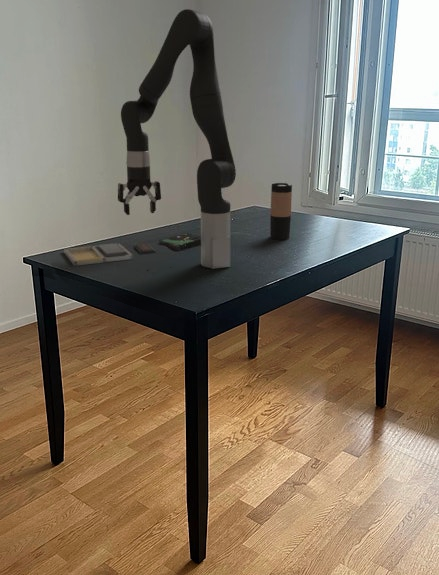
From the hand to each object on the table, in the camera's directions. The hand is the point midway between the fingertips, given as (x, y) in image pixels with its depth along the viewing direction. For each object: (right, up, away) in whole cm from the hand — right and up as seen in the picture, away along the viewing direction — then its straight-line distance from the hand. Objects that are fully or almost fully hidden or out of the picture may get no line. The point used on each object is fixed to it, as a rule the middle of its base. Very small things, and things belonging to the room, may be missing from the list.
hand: (140, 213), depth 196 cm
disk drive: (+14, -10, +15) cm, 22 cm away
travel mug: (+50, -6, +25) cm, 56 cm away
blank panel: (-9, -14, -2) cm, 17 cm away
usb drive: (+1, -13, +5) cm, 14 cm away
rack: (-13, -15, -4) cm, 21 cm away
